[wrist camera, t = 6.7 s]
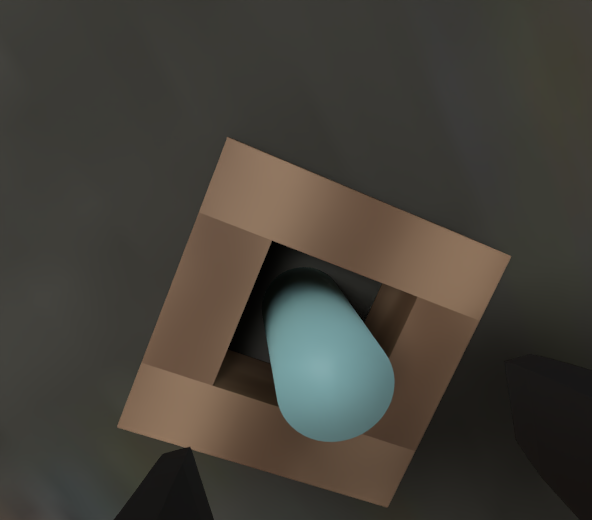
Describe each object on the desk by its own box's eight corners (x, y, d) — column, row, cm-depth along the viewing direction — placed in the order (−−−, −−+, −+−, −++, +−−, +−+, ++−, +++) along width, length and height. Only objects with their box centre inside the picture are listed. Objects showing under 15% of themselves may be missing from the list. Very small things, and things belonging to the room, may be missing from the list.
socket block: (466, 236, 21) (511, 256, 18) (364, 452, 23) (387, 507, 19) (228, 136, 19) (227, 137, 16) (135, 379, 21) (116, 427, 18)
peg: (345, 267, 21) (399, 330, 14) (340, 345, 22) (389, 440, 15) (263, 266, 21) (278, 331, 14) (260, 345, 21) (274, 443, 14)
